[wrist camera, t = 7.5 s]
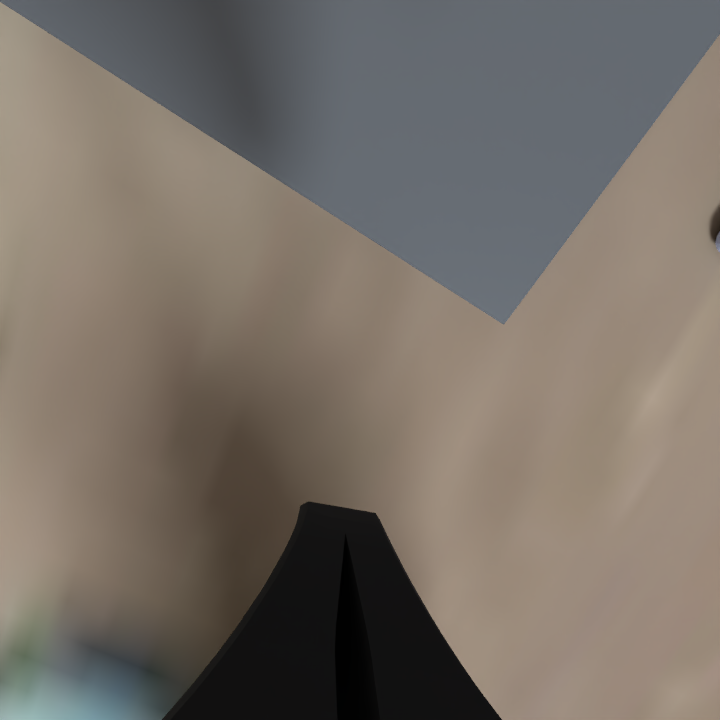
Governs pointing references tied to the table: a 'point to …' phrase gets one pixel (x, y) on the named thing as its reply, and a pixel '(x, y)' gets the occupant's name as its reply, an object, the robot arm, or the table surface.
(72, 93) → the table surface
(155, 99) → the grey slotted board
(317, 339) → the table surface
